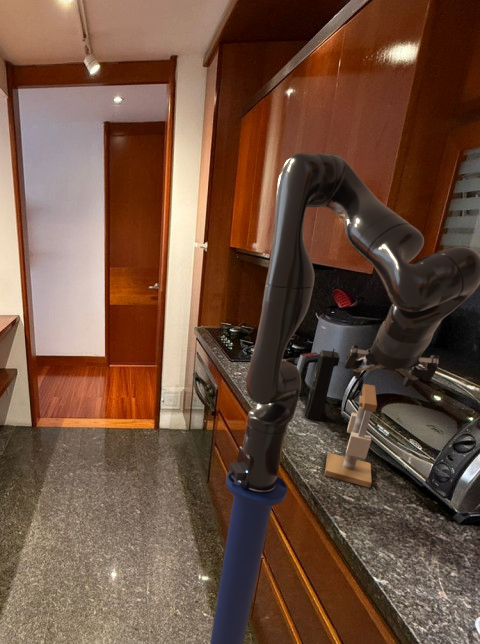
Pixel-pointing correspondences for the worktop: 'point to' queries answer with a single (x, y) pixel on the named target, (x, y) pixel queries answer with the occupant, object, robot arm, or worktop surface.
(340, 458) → the headphone stand
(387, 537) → the worktop surface
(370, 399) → the brown blocky piece
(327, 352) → the portable radio
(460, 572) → the worktop surface
